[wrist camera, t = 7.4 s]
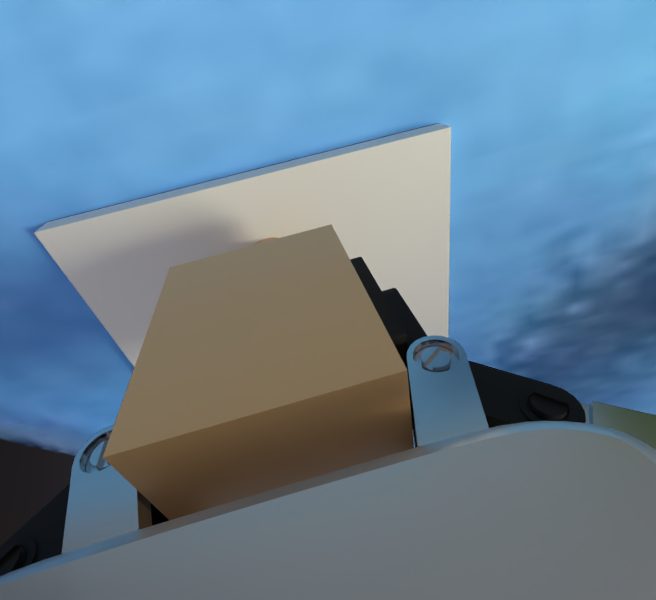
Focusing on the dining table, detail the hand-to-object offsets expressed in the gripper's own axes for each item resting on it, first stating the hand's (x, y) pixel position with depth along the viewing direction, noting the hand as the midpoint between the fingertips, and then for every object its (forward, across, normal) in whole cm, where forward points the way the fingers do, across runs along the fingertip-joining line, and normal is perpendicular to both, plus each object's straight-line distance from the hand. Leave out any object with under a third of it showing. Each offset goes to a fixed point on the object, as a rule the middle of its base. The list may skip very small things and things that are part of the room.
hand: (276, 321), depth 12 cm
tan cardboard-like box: (+1, 0, 0) cm, 1 cm away
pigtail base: (+5, 0, +4) cm, 6 cm away
